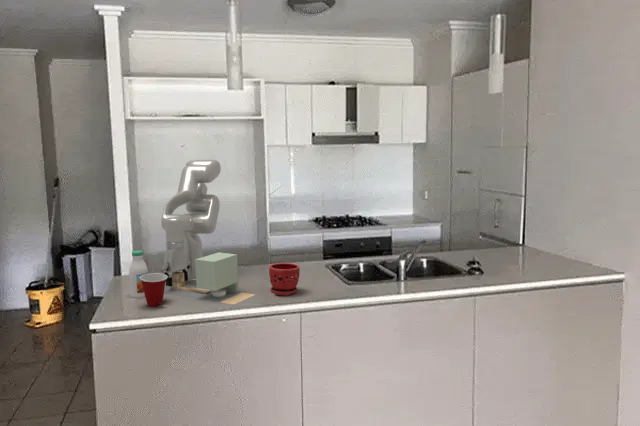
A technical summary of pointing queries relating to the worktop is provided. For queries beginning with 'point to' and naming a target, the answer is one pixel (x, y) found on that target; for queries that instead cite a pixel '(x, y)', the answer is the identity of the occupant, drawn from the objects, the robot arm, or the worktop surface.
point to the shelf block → (217, 272)
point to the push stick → (180, 284)
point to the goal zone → (237, 298)
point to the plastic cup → (153, 288)
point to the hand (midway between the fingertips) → (177, 283)
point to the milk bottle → (137, 274)
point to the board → (198, 295)
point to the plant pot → (284, 278)
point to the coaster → (219, 293)
